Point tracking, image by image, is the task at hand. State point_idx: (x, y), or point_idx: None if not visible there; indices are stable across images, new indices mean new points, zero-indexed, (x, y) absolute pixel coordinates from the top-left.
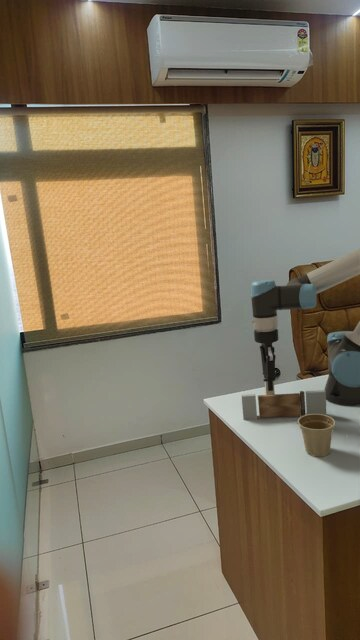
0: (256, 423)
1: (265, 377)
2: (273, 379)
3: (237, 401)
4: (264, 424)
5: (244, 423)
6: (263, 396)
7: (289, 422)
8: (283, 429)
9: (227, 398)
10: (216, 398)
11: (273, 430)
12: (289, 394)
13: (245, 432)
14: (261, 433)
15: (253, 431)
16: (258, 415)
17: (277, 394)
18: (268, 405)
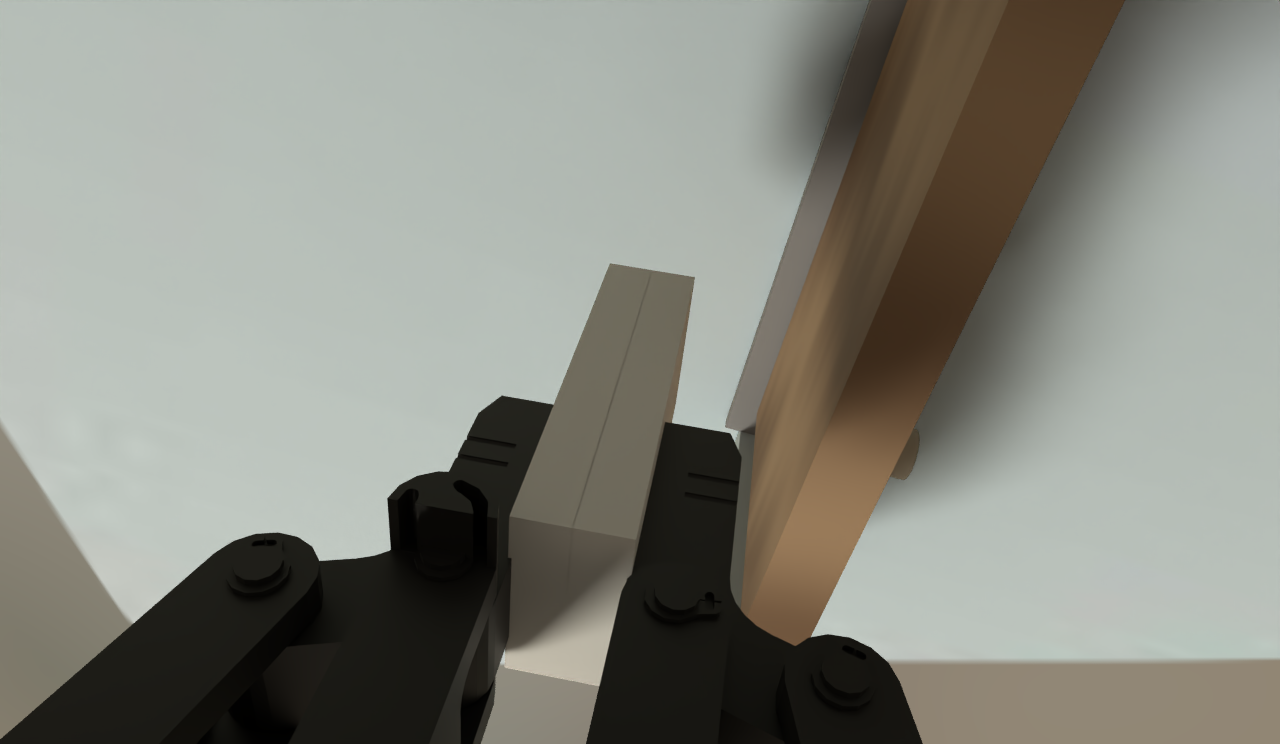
0: (911, 482)
1: (494, 694)
2: (892, 728)
3: (232, 460)
4: (986, 420)
5: (847, 577)
6: (829, 591)
7: (1124, 107)
8: (1275, 272)
9: (136, 518)
10: (131, 599)
11: (1211, 390)
12: (1006, 135)
13: (1060, 632)
14: (1190, 522)
15: (1088, 569)
16: (732, 411)
17: (861, 366)
18: (915, 460)
